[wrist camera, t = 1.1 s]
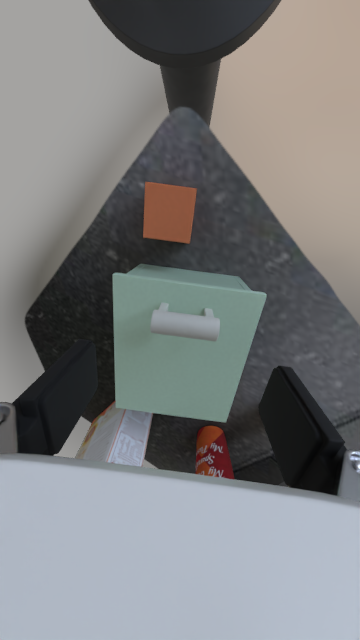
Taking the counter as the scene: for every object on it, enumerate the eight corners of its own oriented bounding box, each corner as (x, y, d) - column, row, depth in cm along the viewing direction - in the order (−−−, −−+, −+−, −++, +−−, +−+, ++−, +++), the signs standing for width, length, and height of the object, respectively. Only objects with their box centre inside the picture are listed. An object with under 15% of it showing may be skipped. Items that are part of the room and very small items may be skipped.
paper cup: (212, 416, 39) (222, 507, 26) (237, 436, 41) (257, 529, 28) (184, 433, 42) (180, 524, 29) (208, 451, 44) (215, 543, 31)
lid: (115, 272, 18) (89, 288, 13) (264, 292, 18) (288, 314, 13) (117, 402, 25) (100, 442, 20) (225, 417, 25) (232, 460, 20)
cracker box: (116, 433, 43) (56, 597, 24) (92, 418, 41) (8, 581, 22) (158, 399, 38) (125, 572, 19) (133, 382, 36) (69, 550, 17)
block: (154, 190, 24) (145, 181, 19) (196, 195, 24) (196, 188, 19) (151, 235, 26) (142, 237, 21) (190, 240, 26) (189, 243, 21)
